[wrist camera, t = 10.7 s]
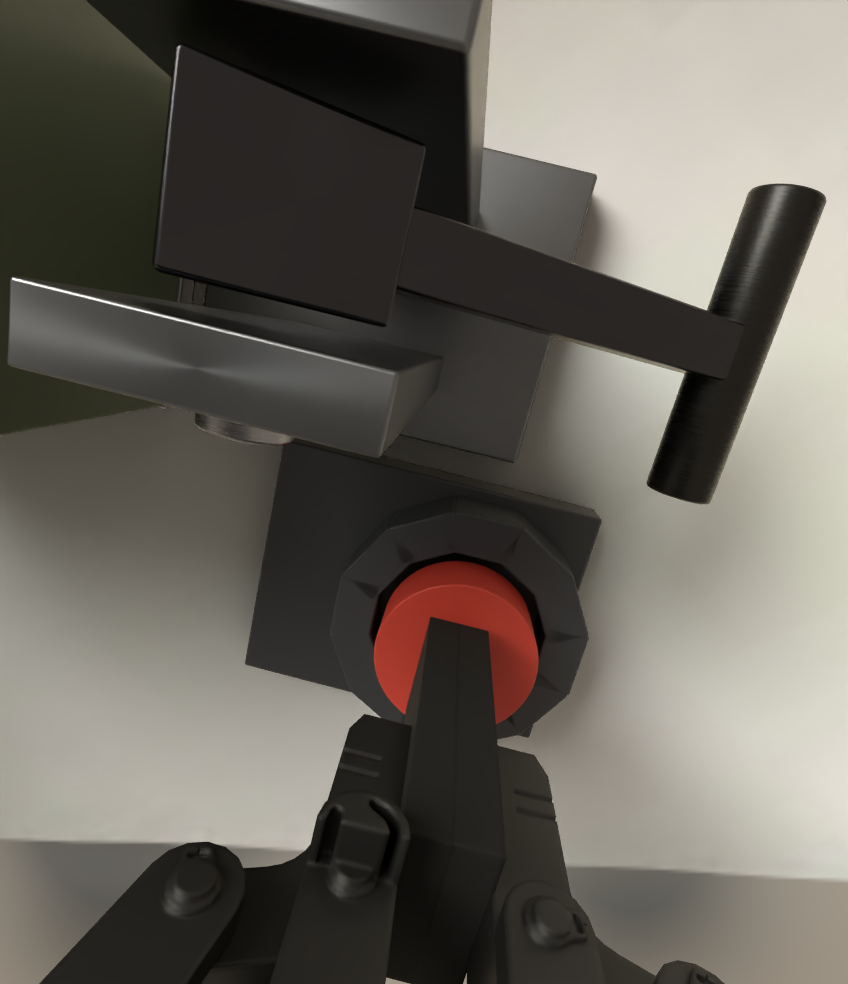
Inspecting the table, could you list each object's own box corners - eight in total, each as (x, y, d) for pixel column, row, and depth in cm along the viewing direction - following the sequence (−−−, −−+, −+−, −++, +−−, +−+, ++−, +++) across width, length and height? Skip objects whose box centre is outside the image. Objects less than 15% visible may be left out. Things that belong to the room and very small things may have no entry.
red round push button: (369, 675, 17) (358, 710, 16) (401, 543, 16) (392, 566, 15) (509, 711, 17) (512, 750, 16) (550, 581, 16) (559, 608, 14)
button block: (256, 647, 20) (221, 696, 18) (294, 433, 18) (262, 449, 16) (529, 717, 20) (540, 779, 17) (599, 509, 18) (623, 540, 15)
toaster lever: (753, 212, 12) (874, 199, 10) (657, 480, 14) (745, 517, 11) (191, -68, 7) (201, -208, 5) (141, 400, 9) (133, 439, 7)
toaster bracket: (589, 186, 16) (880, -215, 5) (512, 456, 18) (584, 640, 7) (248, 104, 16) (-279, -474, 5) (210, 381, 18) (-224, 433, 7)
